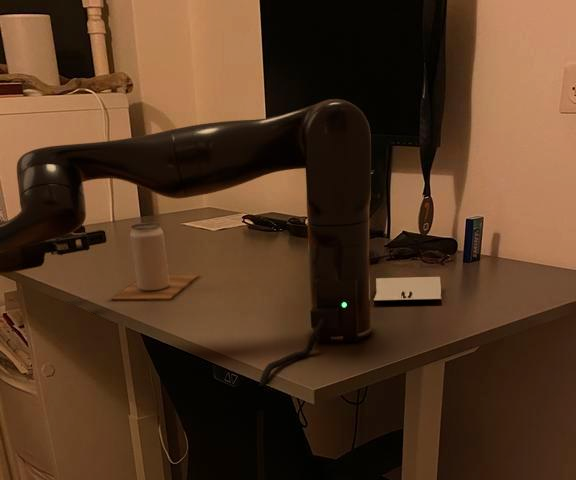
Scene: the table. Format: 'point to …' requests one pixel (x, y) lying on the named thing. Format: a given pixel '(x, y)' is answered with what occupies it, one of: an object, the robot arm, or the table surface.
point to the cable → (395, 254)
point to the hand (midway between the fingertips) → (94, 233)
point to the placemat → (166, 294)
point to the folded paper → (408, 288)
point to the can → (149, 257)
